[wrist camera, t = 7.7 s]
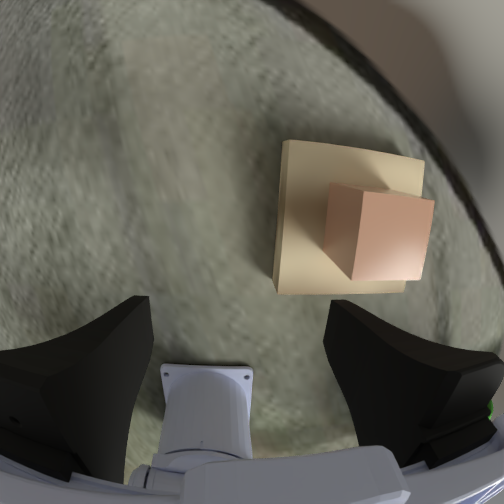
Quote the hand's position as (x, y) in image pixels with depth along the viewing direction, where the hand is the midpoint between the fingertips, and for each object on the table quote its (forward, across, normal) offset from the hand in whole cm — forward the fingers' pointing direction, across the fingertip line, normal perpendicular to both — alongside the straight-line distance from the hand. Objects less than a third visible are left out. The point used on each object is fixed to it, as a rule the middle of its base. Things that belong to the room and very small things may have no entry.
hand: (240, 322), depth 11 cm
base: (+10, -8, -2) cm, 13 cm away
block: (+8, -8, -3) cm, 12 cm away
